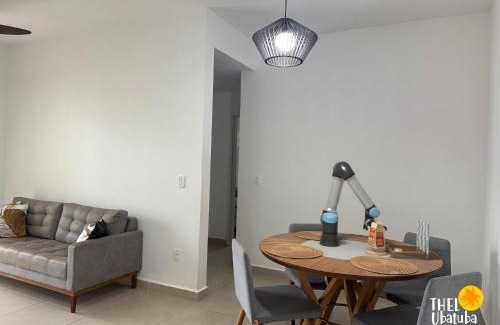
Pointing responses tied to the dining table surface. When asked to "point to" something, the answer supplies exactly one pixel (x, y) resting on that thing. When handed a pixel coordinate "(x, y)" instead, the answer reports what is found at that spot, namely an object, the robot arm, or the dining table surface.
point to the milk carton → (376, 235)
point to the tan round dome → (375, 252)
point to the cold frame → (420, 247)
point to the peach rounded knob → (397, 250)
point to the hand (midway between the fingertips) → (376, 229)
